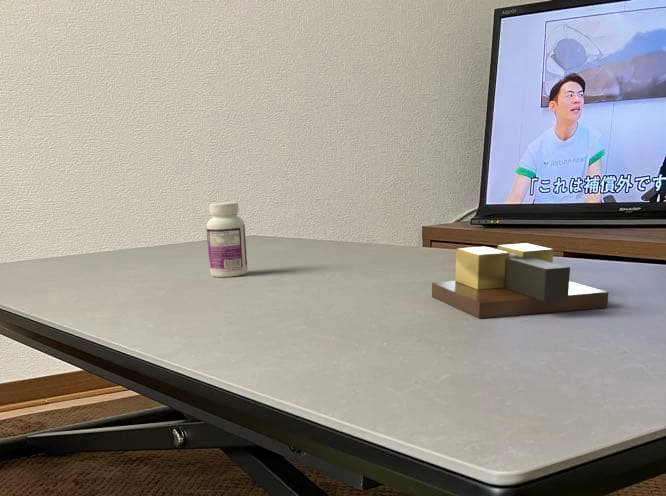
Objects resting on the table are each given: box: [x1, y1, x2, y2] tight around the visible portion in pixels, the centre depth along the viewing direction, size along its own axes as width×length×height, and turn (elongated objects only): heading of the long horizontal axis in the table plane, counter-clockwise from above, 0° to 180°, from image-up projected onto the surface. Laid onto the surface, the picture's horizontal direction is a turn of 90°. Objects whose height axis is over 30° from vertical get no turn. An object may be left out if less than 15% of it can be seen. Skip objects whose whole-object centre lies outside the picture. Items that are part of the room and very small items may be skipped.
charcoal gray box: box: [504, 253, 571, 302], centre depth 92 cm, size 18×2×3 cm, turn 7°
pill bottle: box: [206, 201, 249, 278], centre depth 126 cm, size 5×5×10 cm
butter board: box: [431, 242, 610, 319], centre depth 93 cm, size 13×15×5 cm
